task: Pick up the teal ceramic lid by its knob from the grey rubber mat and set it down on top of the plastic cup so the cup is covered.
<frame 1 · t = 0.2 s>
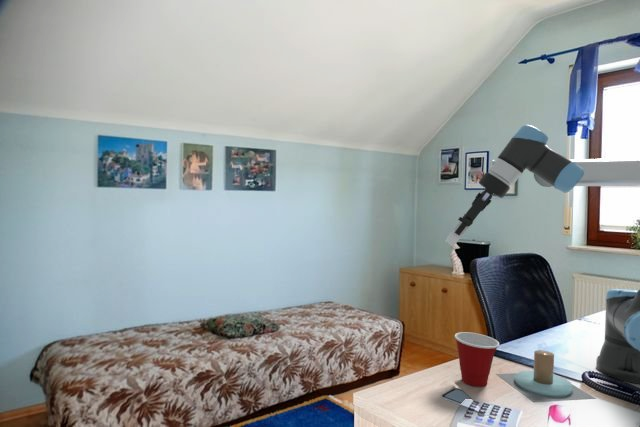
hand: (450, 241, 123), 35 cm above the table, tool tilted 35°, fingers open, 13 cm apart
mat: (542, 387, 111), on the table
plastic cup: (475, 384, 112), on the table
smartphone: (476, 405, 102), on the table
lid: (542, 385, 111), point 1 cm above the table, touching mat
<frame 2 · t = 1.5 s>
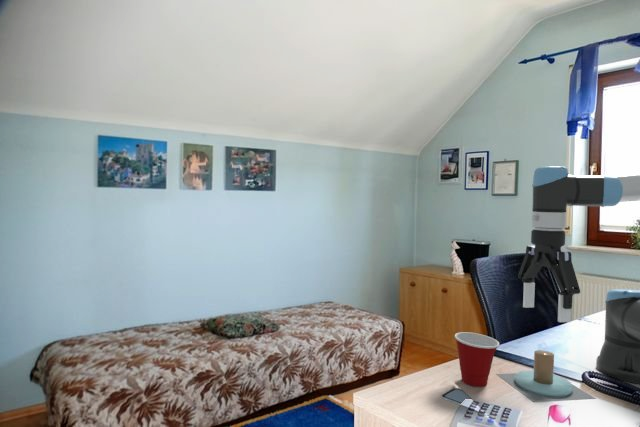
hand: (545, 314, 110), 19 cm above the table, tool pointing down, fingers open, 13 cm apart
nothing on the table moved.
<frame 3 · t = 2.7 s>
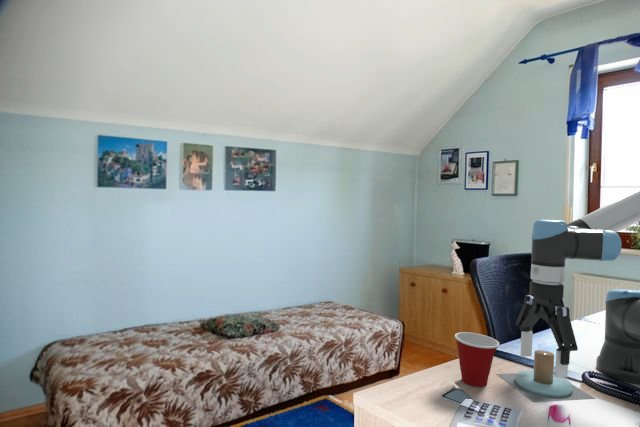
hand: (542, 365, 111), 6 cm above the table, tool pointing down, fingers open, 13 cm apart
nothing on the table moved.
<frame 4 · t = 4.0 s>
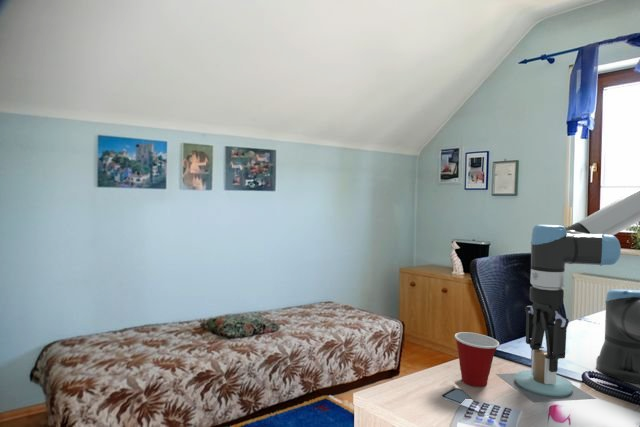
hand: (543, 378, 111), 2 cm above the table, tool pointing down, fingers closed on lid, 4 cm apart
lid: (543, 385, 111), point 1 cm above the table, touching gripper
everything else where it was.
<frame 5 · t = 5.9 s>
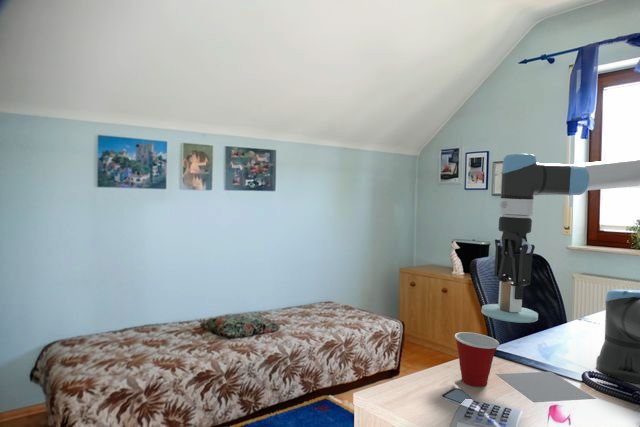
hand: (509, 308, 111), 20 cm above the table, tool pointing down, fingers closed on lid, 4 cm apart
lid: (509, 315, 111), point 18 cm above the table, touching gripper
everything else where it was.
when the fingers open (15 cm above the table, at t = 7.7 s): lid drops 2 cm, resting on plastic cup.
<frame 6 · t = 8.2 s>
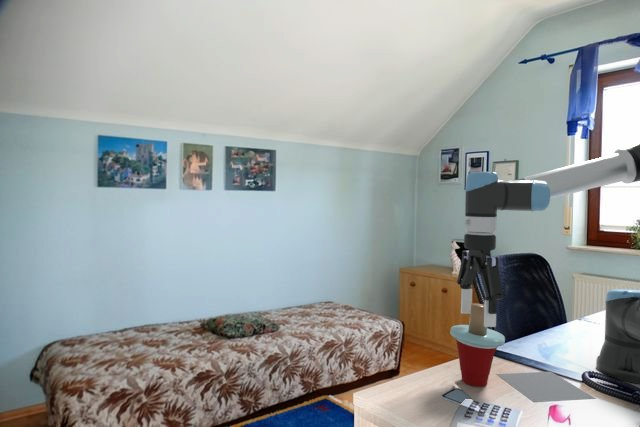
hand: (477, 319, 112), 17 cm above the table, tool pointing down, fingers open, 11 cm apart
plastic cup: (475, 384, 112), on the table, touching lid
lid: (476, 337, 112), point 12 cm above the table, touching plastic cup
everything else where it was.
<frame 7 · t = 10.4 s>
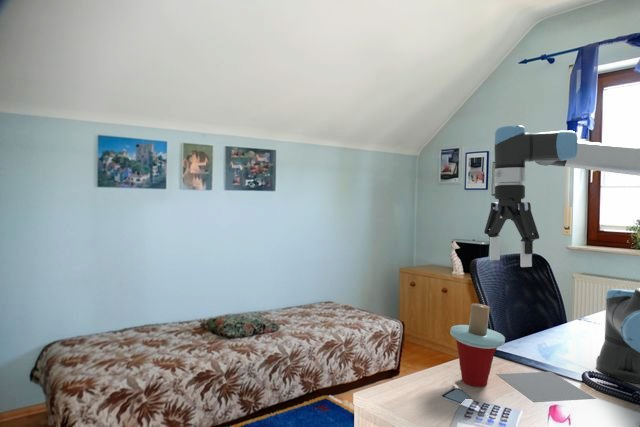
hand: (509, 263, 119), 30 cm above the table, tool pointing down, fingers open, 13 cm apart
nothing on the table moved.
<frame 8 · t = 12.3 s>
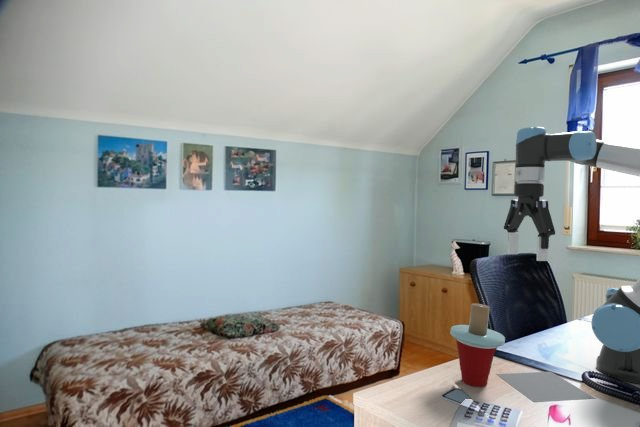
hand: (526, 257, 126), 31 cm above the table, tool pointing down, fingers open, 13 cm apart
nothing on the table moved.
at the end: lid inside the target area on the plastic cup (0.1 cm from its centre), point 12.2 cm above the plastic cup's base; the gripper is holding nothing; plastic cup tilted 0° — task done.
